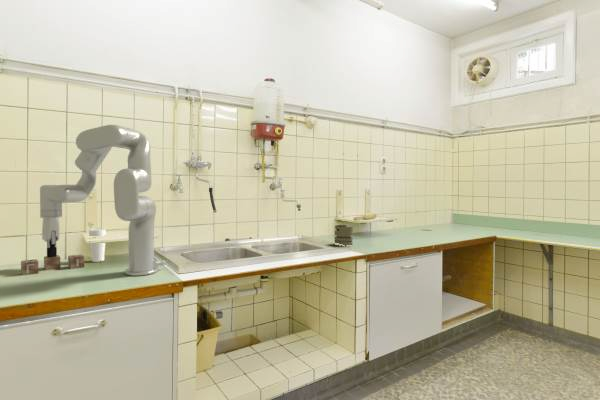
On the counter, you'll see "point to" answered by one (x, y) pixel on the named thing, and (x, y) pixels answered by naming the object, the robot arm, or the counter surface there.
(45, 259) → the plain block
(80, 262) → the block one
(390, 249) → the counter surface
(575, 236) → the counter surface
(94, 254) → the white cup
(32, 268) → the block seven
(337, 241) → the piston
